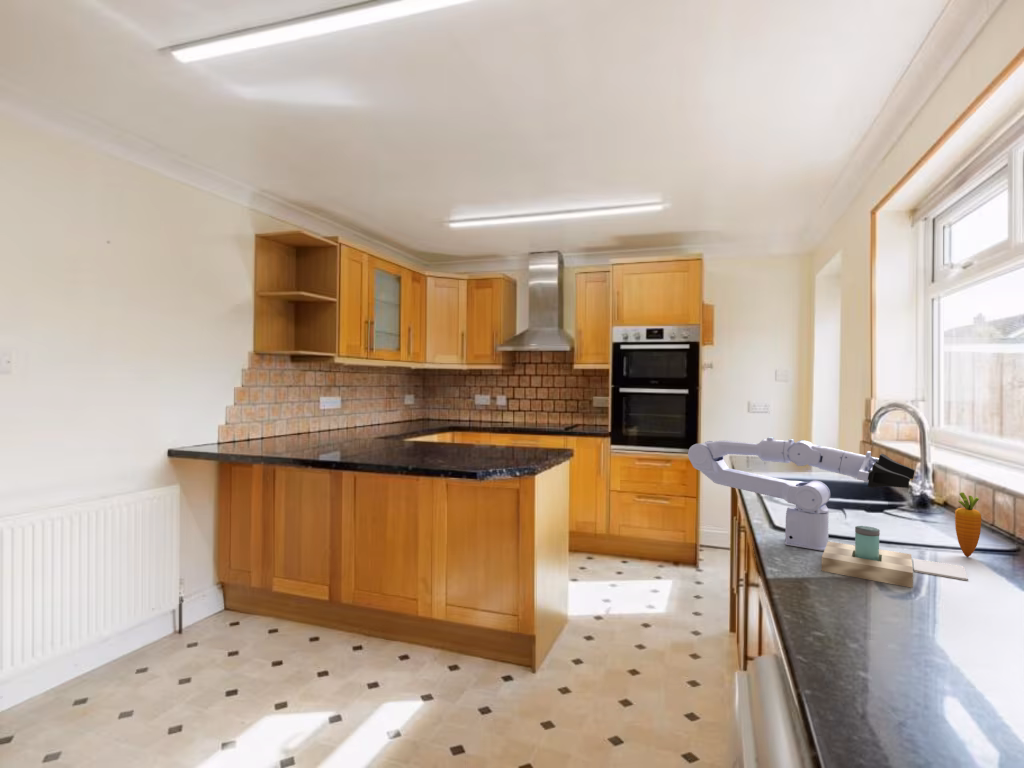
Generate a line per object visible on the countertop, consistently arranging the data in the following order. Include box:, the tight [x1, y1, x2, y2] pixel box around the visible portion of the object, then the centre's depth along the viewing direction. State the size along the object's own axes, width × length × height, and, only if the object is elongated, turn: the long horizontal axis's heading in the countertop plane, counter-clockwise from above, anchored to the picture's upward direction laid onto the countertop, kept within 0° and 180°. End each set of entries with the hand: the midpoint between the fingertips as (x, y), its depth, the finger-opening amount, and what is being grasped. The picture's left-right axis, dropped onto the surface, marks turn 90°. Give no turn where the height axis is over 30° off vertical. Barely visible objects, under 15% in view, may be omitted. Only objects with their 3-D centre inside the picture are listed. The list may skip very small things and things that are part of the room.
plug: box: [854, 525, 881, 561], centre depth 119 cm, size 4×4×9 cm
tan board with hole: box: [821, 540, 914, 589], centre depth 119 cm, size 16×14×3 cm
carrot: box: [954, 491, 982, 558], centre depth 128 cm, size 5×5×15 cm
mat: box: [912, 557, 969, 582], centre depth 119 cm, size 9×9×1 cm
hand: (911, 478), depth 122 cm, fingers open, 7 cm apart
